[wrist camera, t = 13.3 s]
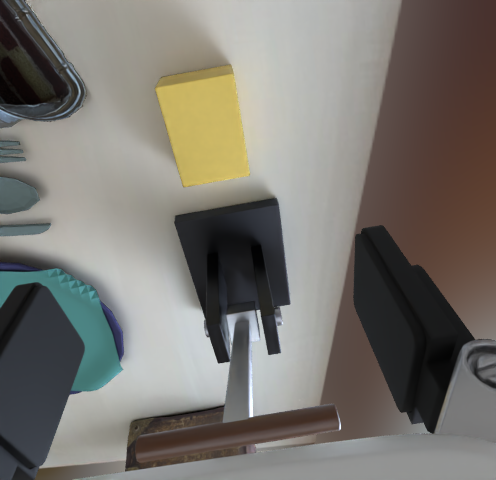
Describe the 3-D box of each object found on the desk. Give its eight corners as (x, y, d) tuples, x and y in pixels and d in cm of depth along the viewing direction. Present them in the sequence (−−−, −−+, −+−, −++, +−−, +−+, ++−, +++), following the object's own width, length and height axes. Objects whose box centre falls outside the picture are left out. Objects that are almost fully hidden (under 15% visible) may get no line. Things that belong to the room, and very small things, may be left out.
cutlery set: (-29, 389, 42) (-41, 408, 40) (-217, 141, 25) (-252, 153, 23) (142, 377, 44) (138, 394, 42) (73, 132, 27) (62, 143, 25)
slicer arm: (129, 428, 14) (141, 486, 14) (335, 394, 14) (345, 452, 14) (193, 310, 30) (198, 338, 30) (289, 294, 29) (293, 322, 30)
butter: (231, 64, 25) (233, 73, 22) (246, 158, 29) (250, 175, 26) (160, 77, 25) (154, 87, 22) (185, 169, 29) (183, 187, 26)
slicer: (175, 215, 31) (162, 292, 23) (276, 197, 31) (299, 268, 23) (205, 310, 38) (203, 395, 30) (288, 296, 38) (309, 377, 30)
